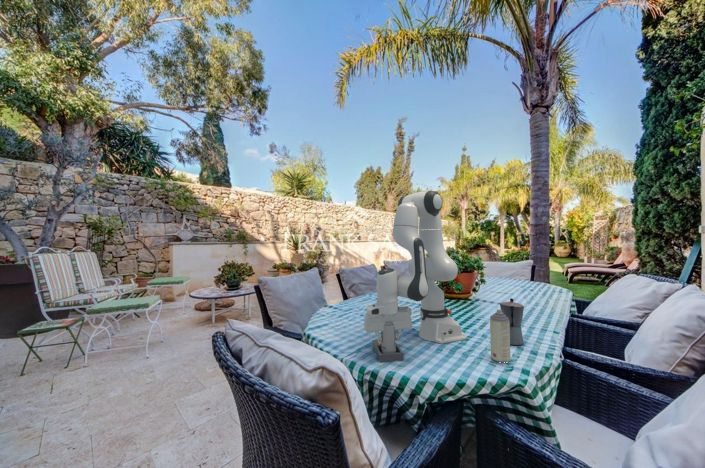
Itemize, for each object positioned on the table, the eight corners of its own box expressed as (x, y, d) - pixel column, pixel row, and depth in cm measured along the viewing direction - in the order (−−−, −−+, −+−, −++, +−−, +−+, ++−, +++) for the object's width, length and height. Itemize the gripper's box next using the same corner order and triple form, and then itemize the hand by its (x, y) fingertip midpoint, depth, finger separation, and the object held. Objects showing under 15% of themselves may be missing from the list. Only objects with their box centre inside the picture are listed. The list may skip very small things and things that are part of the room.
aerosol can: (498, 354, 114) (497, 306, 114) (514, 361, 107) (513, 310, 107) (487, 357, 111) (485, 308, 111) (502, 365, 105) (501, 313, 105)
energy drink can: (380, 353, 118) (379, 318, 118) (394, 352, 118) (393, 317, 118) (383, 359, 112) (382, 323, 112) (397, 358, 112) (396, 322, 112)
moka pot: (522, 337, 130) (521, 296, 130) (527, 351, 116) (526, 304, 116) (500, 335, 134) (498, 294, 134) (502, 347, 120) (501, 302, 120)
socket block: (393, 345, 126) (393, 337, 126) (403, 360, 111) (403, 352, 111) (372, 346, 125) (372, 339, 125) (379, 362, 110) (379, 354, 110)
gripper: (408, 304, 119) (409, 335, 119) (362, 307, 117) (363, 339, 117) (413, 308, 113) (414, 341, 113) (365, 311, 111) (366, 345, 111)
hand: (388, 340), depth 115 cm, fingers closed on energy drink can, 6 cm apart
